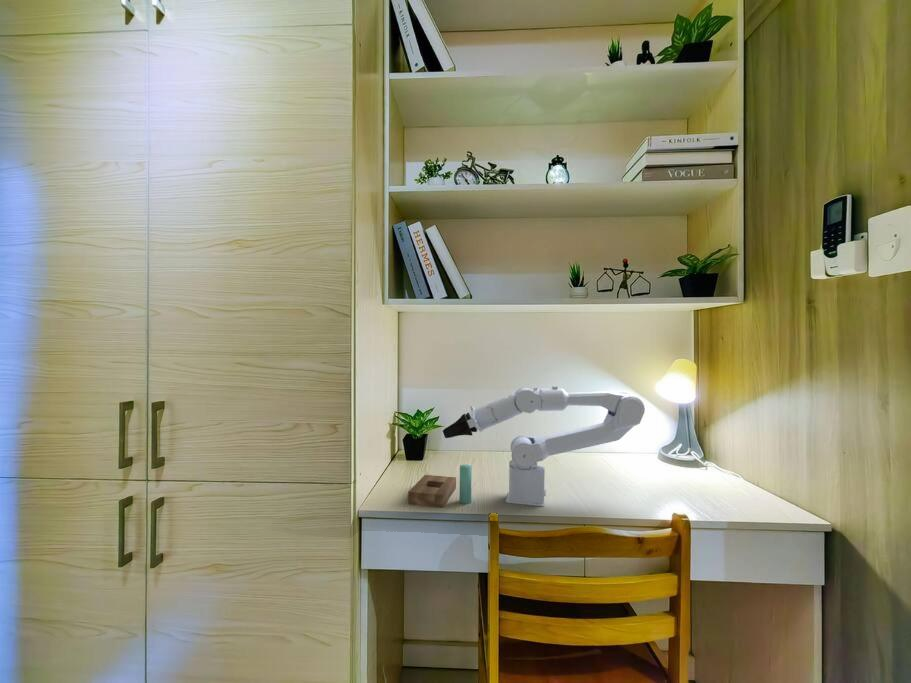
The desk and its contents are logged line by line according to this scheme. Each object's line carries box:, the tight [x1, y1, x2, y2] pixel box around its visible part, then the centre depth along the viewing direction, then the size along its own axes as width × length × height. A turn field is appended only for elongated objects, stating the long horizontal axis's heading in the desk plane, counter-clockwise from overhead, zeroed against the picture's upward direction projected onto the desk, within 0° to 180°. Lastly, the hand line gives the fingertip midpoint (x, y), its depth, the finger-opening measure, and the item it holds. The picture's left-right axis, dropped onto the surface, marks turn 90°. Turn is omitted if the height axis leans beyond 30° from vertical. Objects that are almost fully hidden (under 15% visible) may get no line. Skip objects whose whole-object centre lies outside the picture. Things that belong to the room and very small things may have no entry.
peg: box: [458, 464, 473, 505], centre depth 107 cm, size 3×3×9 cm
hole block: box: [407, 474, 457, 508], centre depth 111 cm, size 9×14×3 cm, turn 167°
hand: (446, 433), depth 112 cm, fingers open, 7 cm apart
